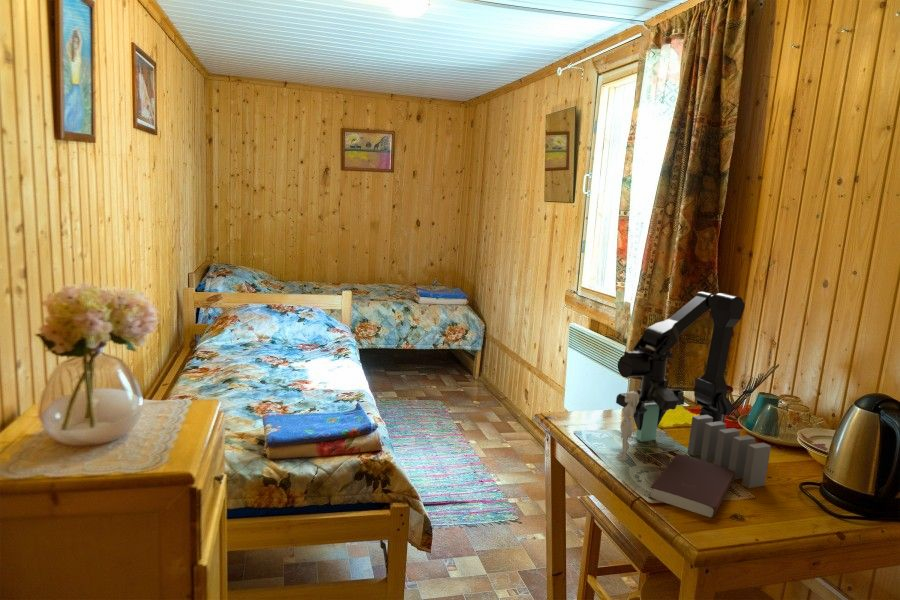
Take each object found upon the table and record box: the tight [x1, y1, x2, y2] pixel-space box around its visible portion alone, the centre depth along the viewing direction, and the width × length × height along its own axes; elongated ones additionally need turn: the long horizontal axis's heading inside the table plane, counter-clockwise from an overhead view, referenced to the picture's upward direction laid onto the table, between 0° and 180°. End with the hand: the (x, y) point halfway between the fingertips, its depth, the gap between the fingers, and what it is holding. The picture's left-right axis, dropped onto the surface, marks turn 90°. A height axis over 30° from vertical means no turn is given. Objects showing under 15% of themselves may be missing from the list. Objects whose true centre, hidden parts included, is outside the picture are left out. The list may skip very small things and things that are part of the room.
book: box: [647, 453, 735, 519], centre depth 143 cm, size 14×22×4 cm, turn 145°
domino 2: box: [699, 421, 727, 463], centre depth 159 cm, size 5×2×10 cm, turn 112°
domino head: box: [635, 402, 659, 442], centre depth 170 cm, size 5×2×10 cm, turn 112°
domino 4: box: [728, 434, 756, 480], centre depth 151 cm, size 5×2×10 cm, turn 112°
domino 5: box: [741, 442, 772, 489], centre depth 146 cm, size 5×2×10 cm, turn 112°
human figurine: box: [615, 390, 640, 462], centre depth 156 cm, size 12×4×18 cm, turn 175°
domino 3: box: [713, 427, 741, 469], centre depth 155 cm, size 5×2×10 cm, turn 112°
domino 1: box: [687, 415, 713, 456], centre depth 163 cm, size 5×2×10 cm, turn 112°
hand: (647, 428), depth 170 cm, fingers closed on domino head, 5 cm apart
